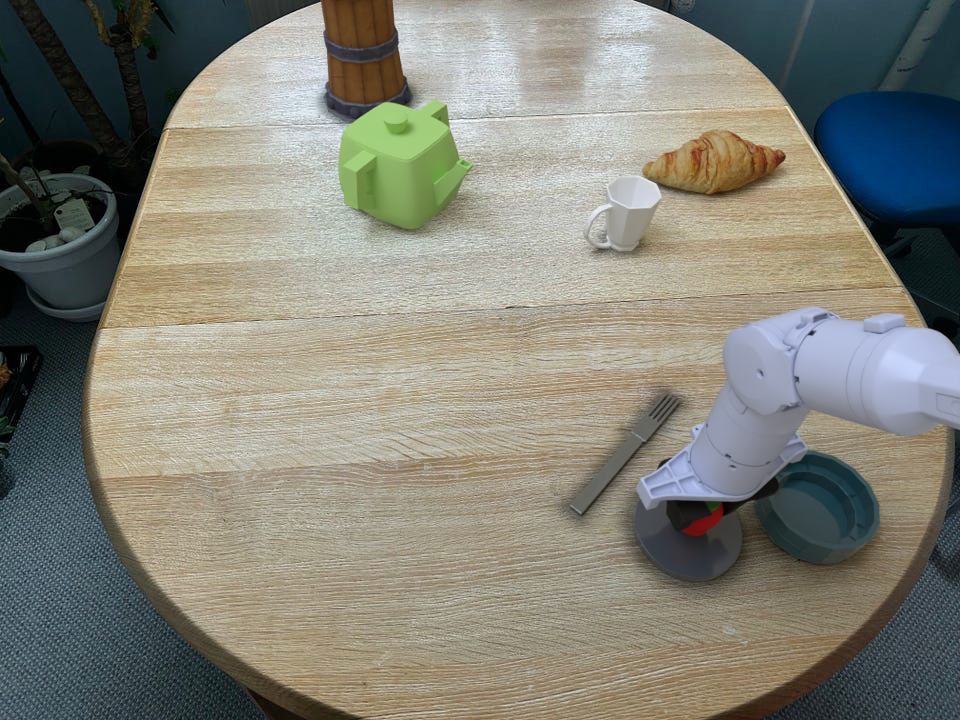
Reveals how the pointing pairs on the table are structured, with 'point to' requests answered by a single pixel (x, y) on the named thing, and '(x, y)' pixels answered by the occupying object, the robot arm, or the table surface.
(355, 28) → the mug
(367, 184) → the teapot
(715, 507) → the strawberry
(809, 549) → the bowl
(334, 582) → the table surface
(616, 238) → the cup
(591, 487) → the fork
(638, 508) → the plate
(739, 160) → the croissant
